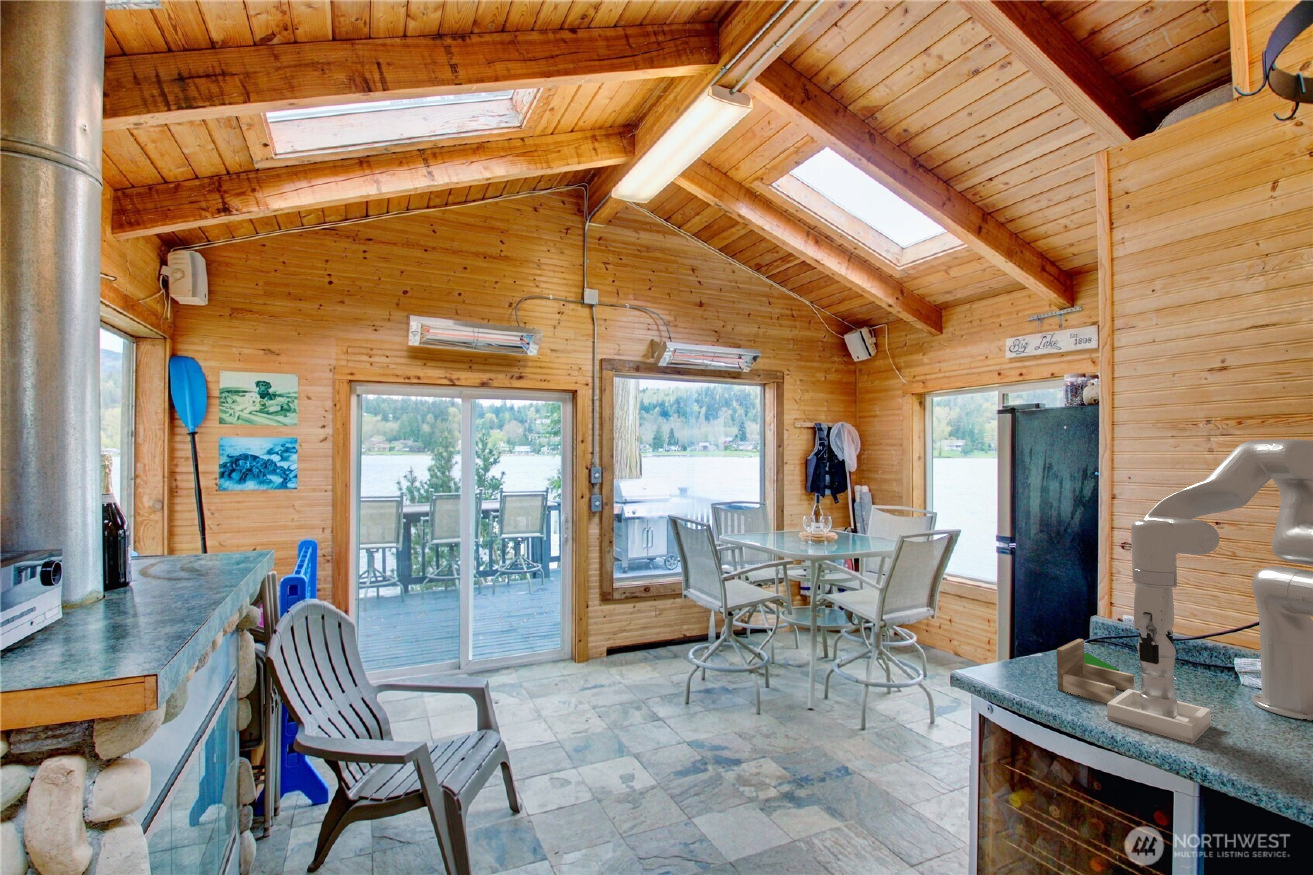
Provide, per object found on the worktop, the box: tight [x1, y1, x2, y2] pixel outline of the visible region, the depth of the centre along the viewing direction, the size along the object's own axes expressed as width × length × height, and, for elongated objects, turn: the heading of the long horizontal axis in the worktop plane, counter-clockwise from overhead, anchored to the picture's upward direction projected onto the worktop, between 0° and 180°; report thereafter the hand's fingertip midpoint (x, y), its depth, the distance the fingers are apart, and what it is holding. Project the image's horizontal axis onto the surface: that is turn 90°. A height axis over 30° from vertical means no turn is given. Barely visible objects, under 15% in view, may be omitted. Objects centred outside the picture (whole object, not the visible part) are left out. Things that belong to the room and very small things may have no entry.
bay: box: [1056, 638, 1135, 704], centre depth 152 cm, size 12×13×10 cm
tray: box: [1106, 689, 1212, 745], centre depth 134 cm, size 14×13×4 cm
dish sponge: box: [1084, 652, 1120, 671], centre depth 168 cm, size 7×14×2 cm, turn 176°
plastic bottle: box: [1136, 629, 1179, 719], centre depth 135 cm, size 6×7×20 cm
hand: (1156, 657), depth 135 cm, fingers open, 9 cm apart
